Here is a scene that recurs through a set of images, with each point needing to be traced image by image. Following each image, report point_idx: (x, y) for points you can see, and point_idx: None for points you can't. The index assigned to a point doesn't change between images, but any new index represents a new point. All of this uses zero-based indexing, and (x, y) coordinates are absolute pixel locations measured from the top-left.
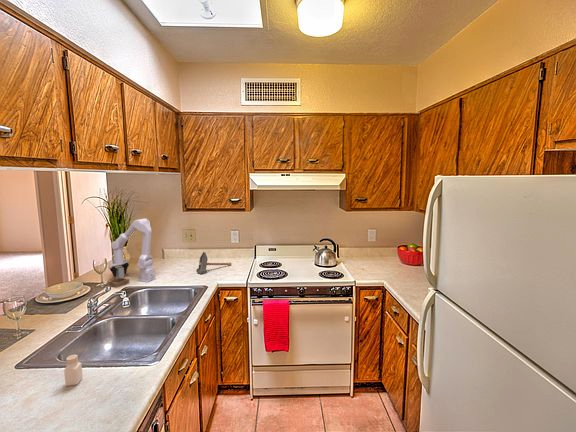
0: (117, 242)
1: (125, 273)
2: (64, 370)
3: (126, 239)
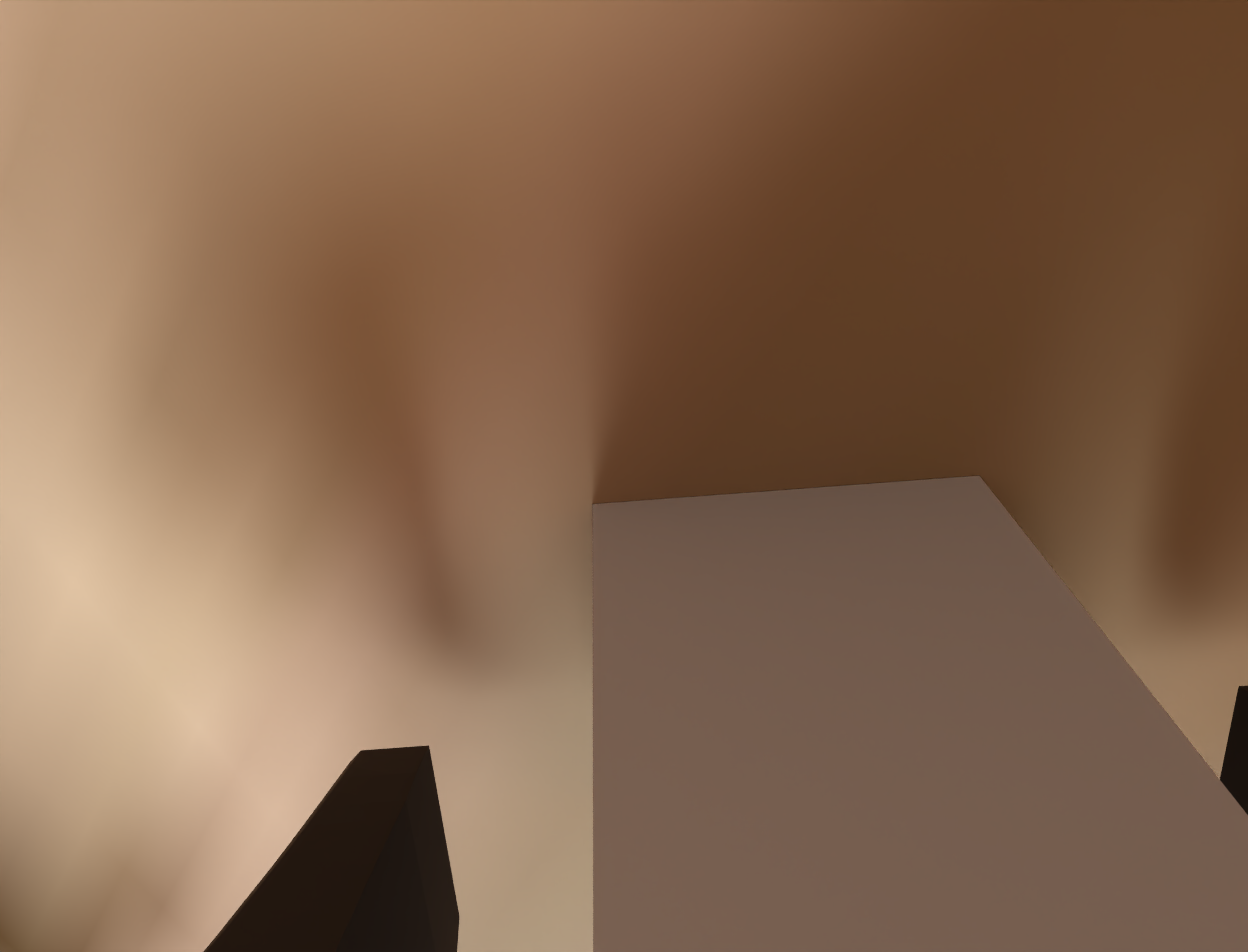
0: None
1: None
2: None
3: None
